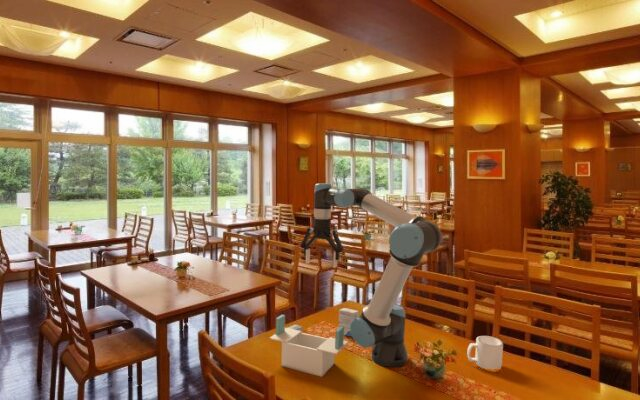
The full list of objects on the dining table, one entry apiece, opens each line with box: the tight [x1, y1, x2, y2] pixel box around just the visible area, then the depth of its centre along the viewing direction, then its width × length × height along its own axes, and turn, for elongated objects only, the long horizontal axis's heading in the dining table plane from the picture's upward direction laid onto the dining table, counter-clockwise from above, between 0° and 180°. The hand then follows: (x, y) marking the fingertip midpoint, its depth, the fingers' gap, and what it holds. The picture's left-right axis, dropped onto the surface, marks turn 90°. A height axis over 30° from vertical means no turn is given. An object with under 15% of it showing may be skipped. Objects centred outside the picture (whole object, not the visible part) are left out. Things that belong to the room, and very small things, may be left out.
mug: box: [466, 335, 504, 370], centre depth 163 cm, size 14×10×11 cm
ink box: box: [338, 307, 359, 338], centre depth 193 cm, size 9×5×12 cm, turn 58°
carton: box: [280, 332, 336, 378], centre depth 161 cm, size 18×12×10 cm, turn 65°
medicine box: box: [287, 324, 303, 333], centre depth 177 cm, size 8×4×9 cm, turn 141°
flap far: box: [269, 314, 301, 343], centre depth 164 cm, size 8×12×8 cm
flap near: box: [317, 326, 349, 356], centre depth 155 cm, size 8×12×8 cm
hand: (321, 265), depth 177 cm, fingers open, 13 cm apart
